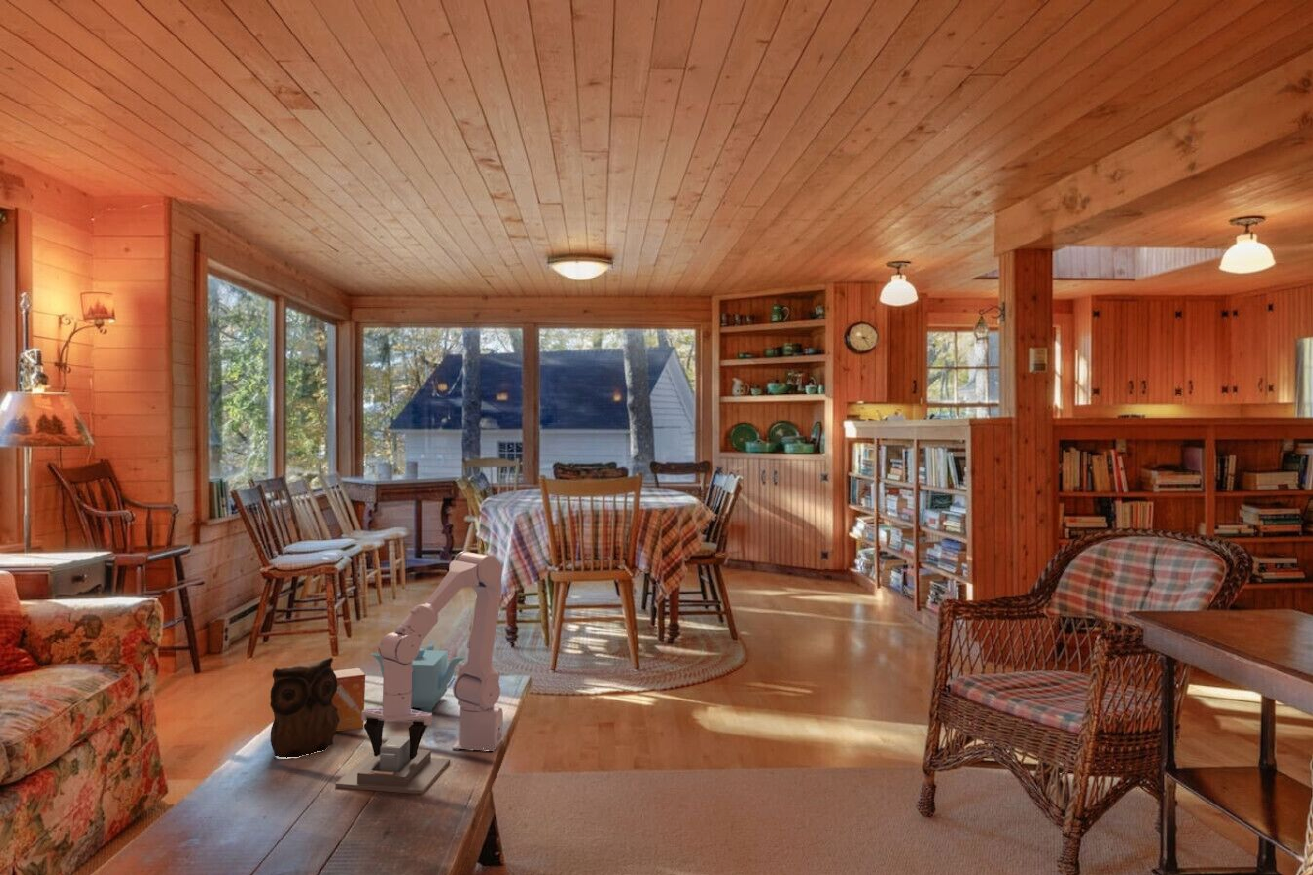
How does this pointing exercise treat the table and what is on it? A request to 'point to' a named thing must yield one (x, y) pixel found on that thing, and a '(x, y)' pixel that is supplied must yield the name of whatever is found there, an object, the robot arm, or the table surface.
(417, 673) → the teakettle
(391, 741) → the block
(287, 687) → the owl
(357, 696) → the small box
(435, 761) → the chassis
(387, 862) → the table surface
